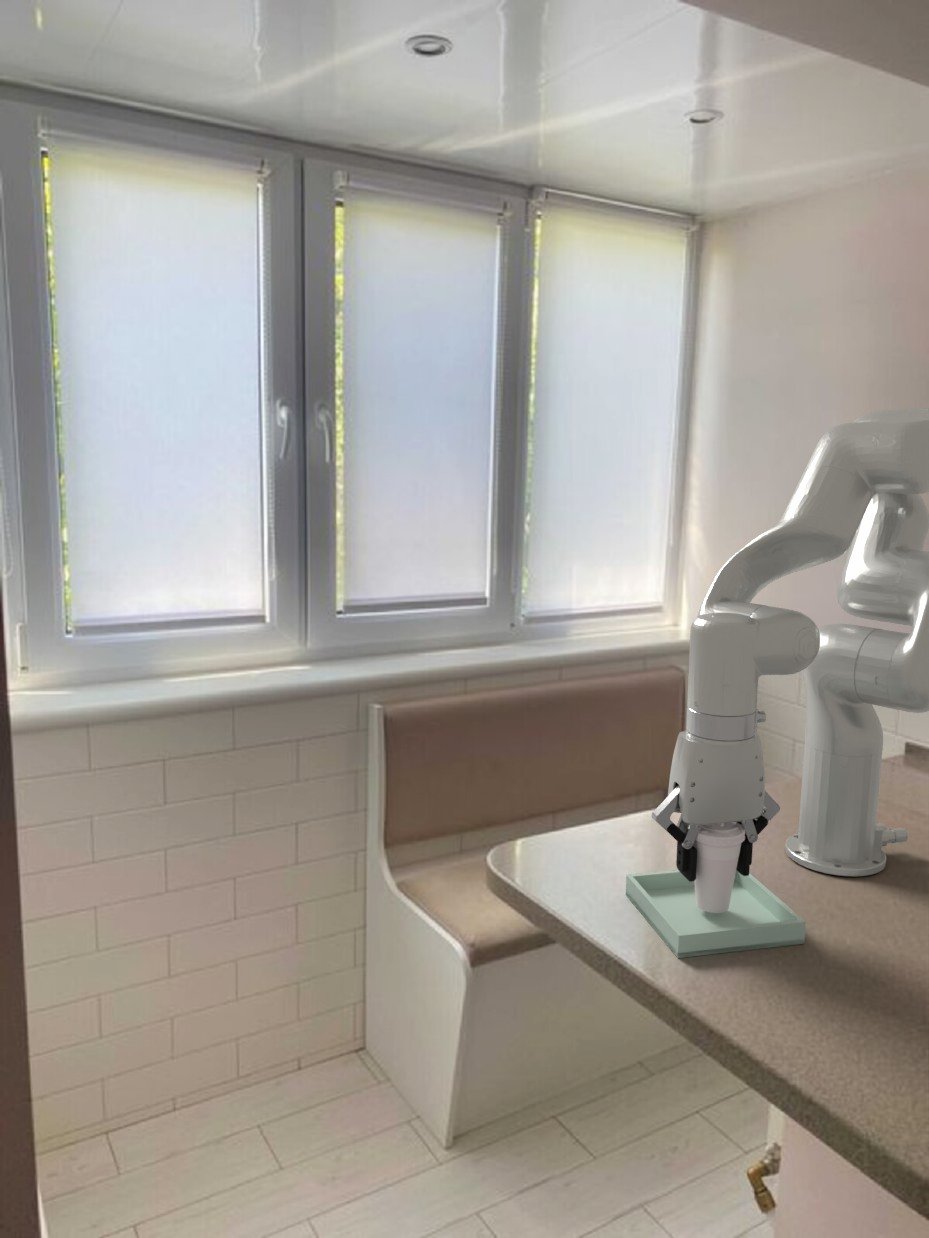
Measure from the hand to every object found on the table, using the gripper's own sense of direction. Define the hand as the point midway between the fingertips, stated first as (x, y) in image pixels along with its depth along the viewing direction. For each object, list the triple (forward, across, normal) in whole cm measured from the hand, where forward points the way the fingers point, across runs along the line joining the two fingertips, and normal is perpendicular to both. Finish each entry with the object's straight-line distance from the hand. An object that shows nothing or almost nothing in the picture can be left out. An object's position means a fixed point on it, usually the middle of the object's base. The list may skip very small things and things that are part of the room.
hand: (713, 872), depth 108 cm
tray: (+6, 0, 0) cm, 6 cm away
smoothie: (+4, 0, 0) cm, 4 cm away
